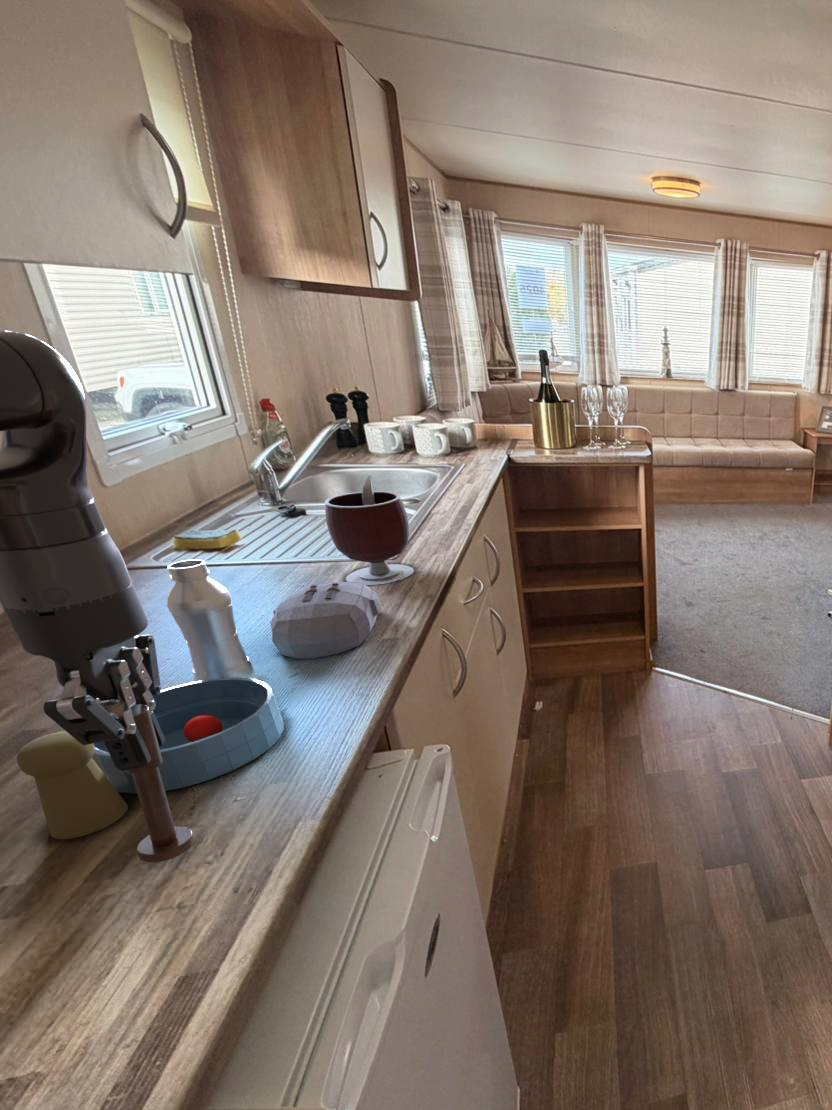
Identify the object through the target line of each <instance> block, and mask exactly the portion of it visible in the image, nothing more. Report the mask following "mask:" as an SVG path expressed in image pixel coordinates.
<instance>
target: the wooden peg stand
mask: <svg viewBox="0 0 832 1110" xmlns="http://www.w3.org/2000/svg"><path fill="white" fill-rule="evenodd" d="M131 711H132V714H133V717H134V720H135V723H136V727H137V729H138V730H139V732H140V734H141V736H142V739H143V741H144V743H145V745H146V748H147V750H148V752H149V755H150V757H151V760H150V762H149V763H148V765H147V766H145V767H142V768H137V769H131V770H125V772H127V773H131V774H132V776H133V780H134V783H135V787H136V790H137V793H138V794H137V796H138V801H139V803H140V807H141V810H142V814H143V818H144V821H145V824H146V827H147V832H148V834H149V835H147V836H145V837H144V838H143V839H141V840H140V842H139V843H138V844H137V845H136V852H137V856H138V859H139V860H140V861H142V862H144V863H160V862H161V863H162V862H165V861H169V860H172V859H174V858H176V857H179V856H181V855H182V854H183V853H186V852H187V851H188V850H189V849H190V848H191V847H192V846H193V844H194V842H195V838H194V833H193V830H191V828H189V827H187V826H175V823H174V820H173V819H174V818H173V816H172V812H171V808H170V805H169V801H168V800H169V799H168V797H167V794H166V791H165V789H164V786H163V782H162V778H161V775H160V771H159V767H158V766H160V765H161V764H162V762H163V759H162V755H161V752H160V748H159V744H158V740H157V737H156V733H155V729H154V725H153V722H152V718H151V714H150V710H149V707H148V706H146V705H143V704H135V705H134V706H133V707H131ZM110 715H111V716H112V717H113V718H114V719H115V720H116V721H117V722H119V719H118V716H117V715H116V714H114V713H111V714H110Z"/></svg>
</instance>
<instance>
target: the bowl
mask: <svg viewBox="0 0 832 1110" xmlns="http://www.w3.org/2000/svg"><path fill="white" fill-rule="evenodd" d="M153 698H154V700H155V702H156V707H155V709H154V710H152V711H153V712H154V714H155V717H156V719H157V721H158V724H159V726H160V728H161V731H162V733H163V735H164V738H165V741H164V743H163V744H162V745H161V746H160V747H159V748H160V752H161V755H162V759H163V762H162V764H161V765H160V766H158V767H159V771H160V775H161V778H162V782H163V786H164V789H165V792H166V791H167V792H168V791H173V790H177V789H178V790H179V789H183V788H187V787H190V786H194V785H197V784H201V783H204V782H207V781H210V780H212V779H215V778H218V777H220V776H222V775H225V774H228V773H230V772H233V771H234V770H237V769H238V768H241V767H243V766H244V765H246V764H249V763H250V762H252V761H254V760H256V759H257V758H258V757H260V756H261V755H262V754H264V753H266V752H268V750H270V749H271V748H272V747H273V745H275V743H276V742H278V741H279V740H280V738H281V736H282V734H283V732H284V730H285V725H284V720H283V717H282V714H281V711H280V708H279V704H278V701H277V699H276V695H275V693H274V689H273V687H271V686H270V685H269V684H268V683H267V682H265V681H262V680H258V679H250V678H239V677H236V678H217V679H210V680H203V681H196V682H194V681H191V682H188V683H183V684H178V685H174V686H171V687H168V688H165V689H161V693H160V694H159V695H154V696H153ZM201 715H210V716H214V717H216V718H218V719H219V720H220V721H221V723H222V731H221V732H219V733H217V734H214V735H212V736H209V737H206V738H203V739H200V740H198V741H195V742H190V741H189V740H188V739H187V738H186V737H185V735H184V727H185V725H186V724H187V723H188V722H189V721H190V720H191V719H193V718H195V717H197V716H201ZM93 744H94V750H95V751H94V754H93V756H92V759H93V760H94V761H95V763H96V764H97V765H98V767H99V768H100V769H101V771H102V772H103V773H104V775H105V776H106V777H107V778H108V780H109V781H110V782H111V784H112V785H113V786H114V788H115V789H116V790H117V792H118V793H124V794H130V795H131V794H132V795H138V793H137V790H136V787H135V783H134V780H133V776H132V774H131V773H127V772H125V771H121V770H118V769H117V768H116V767H115V764H114V762H113V760H112V758H111V756H110V754H109V752H108V749H107V747H106V745H105V743H104V742H97V743H93Z"/></svg>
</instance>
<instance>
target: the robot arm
mask: <svg viewBox="0 0 832 1110" xmlns="http://www.w3.org/2000/svg"><path fill="white" fill-rule="evenodd" d="M87 430H88V429H87V403H86V397H85V393H84V389H83V385H82V383H81V382H80V379H79V377H78V375H77V374H76V372H75V370H74V369H73V367H72V366H71V365H70V363H69V362H68V361H67V360H66V358H64V357H63V355H61V354H60V353H59V352H58V351H57V350H56V349H54V348H53V347H52V346H50V345H49V344H47V343H46V342H44V341H42V340H41V339H39V338H37V337H35V336H32V335H30V334H27V333H23V332H18V331H11V330H0V432H2V436H1V443H0V607H1V608H2V610H3V612H4V615H5V616H6V619H7V620H8V622H9V624H10V626H11V628H12V631H13V632H14V635H15V636H16V638H17V641H18V642H19V644H20V646H21V648H22V650H23V651H24V652H26V653H28V654H30V655H33V656H40V657H43V658H47V659H49V660H51V661H53V662H54V666H55V671H56V679H57V681H58V684H59V685H61V687H63V688H62V692H61V694H60V697H59V699H52V700H46V701H45V702H44V704H43V712H44V714H45V715H46V716H47V717H49V718H50V719H51V720H52V721H53V722H54V723H55V724H56V725H58V726H59V727H60V728H61V729H63V731H66V732H68V733H69V734H70V735H71V736H72V737H74V738H75V739H76V740H77V741H78V742H79V743H81V744H82V745H88V744H93V743H97V742H104V743H105V745H106V747H107V749H108V752H109V754H110V756H111V758H112V760H113V762H114V764H115V767H116V768H117V769H118V770H121V771H125V770H131V769H137V768H142V767H145V766H147V765H148V763H149V762H150V760H151V757H150V755H149V752H148V750H147V748H146V745H145V743H144V741H143V739H142V736H141V734H140V732H139V730H138V729H137V727H136V723H135V720H134V717H133V714H132V711H131V707H133V706H134V705H135V704H143V705H146V706H148V707H149V710H150V714H151V718H152V722H153V725H154V729H155V733H156V737H157V740H158V744H159V747H160V746H161V745H162V744H163V743H164V741H165V738H164V735H163V733H162V731H161V728H160V726H159V724H158V721H157V719H156V717H155V714H154V712H153V711H152V710H154V709H155V707H156V702H155V700H154V698H153V696H154V695H159V694H160V693H161V690H162V685H161V679H160V671H159V663H158V656H157V649H156V642H155V638H154V637H155V636H154V635H152V634H151V633H150V634H141V633H143V632H144V631H145V630H146V628H147V627H148V624H149V621H148V617H147V615H146V612H145V610H144V608H143V606H142V603H141V600H140V598H139V595H138V593H137V589H136V587H135V586H134V583H133V580H132V578H131V576H130V573H129V570H128V568H127V566H126V563H125V560H124V557H123V556H122V553H121V551H120V549H119V548H118V546H117V545H116V543H115V541H114V540H113V539H112V537H111V535H110V533H109V531H108V529H107V527H106V524H105V522H104V519H103V517H102V513H101V512H100V509H99V507H98V505H97V502H96V500H95V497H94V494H93V491H92V489H91V487H90V485H89V479H88V444H87V443H88V441H87V440H88V439H87V434H88V433H87ZM111 713H114V714H116V715H117V716H118V719H119V722H117V721H116V720H115V719H114V718H113V717H112V716H111V715H110V714H111Z"/></svg>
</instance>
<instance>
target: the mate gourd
mask: <svg viewBox="0 0 832 1110" xmlns="http://www.w3.org/2000/svg"><path fill="white" fill-rule="evenodd" d="M372 483H373V482H372V476H371V475H366V478H365V480H364V482H363V485H362V491H355V492H348V493H343V494H338V495H334V496H331V497H328V498H327V499H325V500H324V504H325V508H324V513H325V521H326V525H327V529H328V533H329V536H330V538H331V540H332V542H333V545H334V546H335V548H336V550H337V551H339V552H340V553H341V554H342V555H344V556H345V557H347V558H348V560H349V559H350V560H351V561H358V562H362V563H363V562H364V563H370V564H369V566H367V567H364V568H360V569H357V570H355V571H353V572H351V573H349V574H348V575H347V576H346V578H345V582H359V583H364V584H365V585H367V586H377V585H378V586H379V585H385V584H390V583H395V582H398V581H402V580H404V579H407V578H408V577H410V576H411V575H413V573H414V572H415V570H414V567H412V566H410V565H405V564H398V563H397V564H396V563H393V564H392V563H391V564H388V563H387V562H386V561H387V560H389V559H392V558H394V557H396V556H398V555H400V554H401V553H403V551H404V550H405V548H406V547H407V544H408V543H409V540H410V539H409V537H410V523H409V519H408V514H407V511H406V508H405V505H404V502H403V500H402V499H401V495H400V494H399V493H397V492H393V491H386V490H385V491H384V490H374V486H373V484H372Z"/></svg>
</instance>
